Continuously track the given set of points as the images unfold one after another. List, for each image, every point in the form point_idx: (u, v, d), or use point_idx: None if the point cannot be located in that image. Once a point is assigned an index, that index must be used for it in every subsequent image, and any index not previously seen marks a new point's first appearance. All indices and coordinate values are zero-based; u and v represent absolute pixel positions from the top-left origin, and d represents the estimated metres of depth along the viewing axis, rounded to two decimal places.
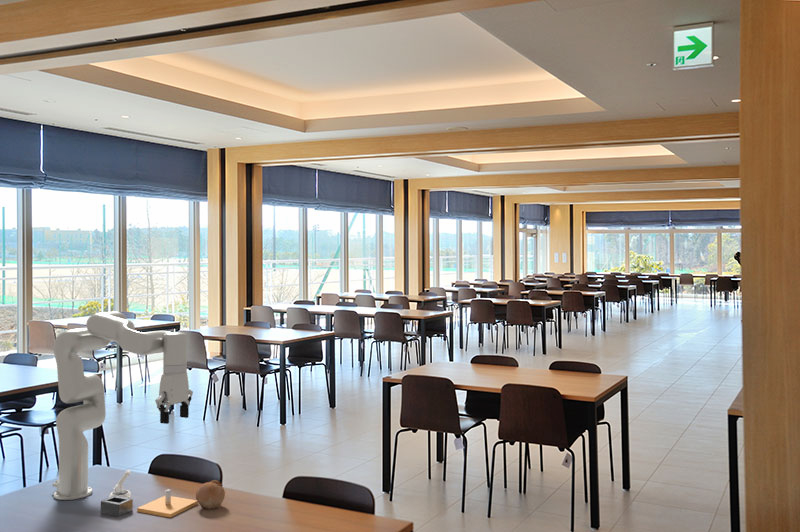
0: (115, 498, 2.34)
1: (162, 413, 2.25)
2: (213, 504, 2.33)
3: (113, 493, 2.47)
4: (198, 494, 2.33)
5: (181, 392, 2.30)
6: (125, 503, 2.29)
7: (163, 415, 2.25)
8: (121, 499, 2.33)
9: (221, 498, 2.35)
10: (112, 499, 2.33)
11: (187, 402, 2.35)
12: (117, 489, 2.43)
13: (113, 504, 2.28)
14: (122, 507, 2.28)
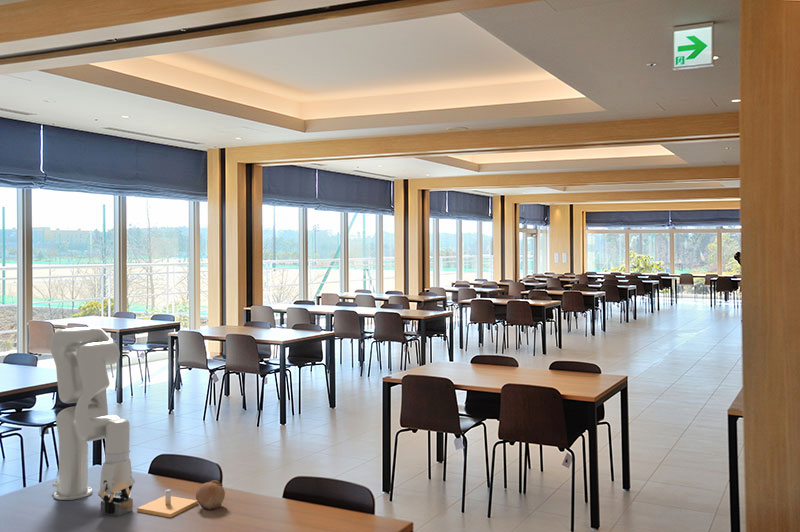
0: (115, 498, 2.34)
1: (106, 503, 2.27)
2: (213, 504, 2.33)
3: None
4: (198, 494, 2.33)
5: (123, 479, 2.31)
6: (125, 503, 2.29)
7: (107, 506, 2.27)
8: (121, 499, 2.33)
9: (221, 498, 2.35)
10: None
11: (127, 492, 2.34)
12: None
13: (113, 504, 2.28)
14: (122, 507, 2.28)
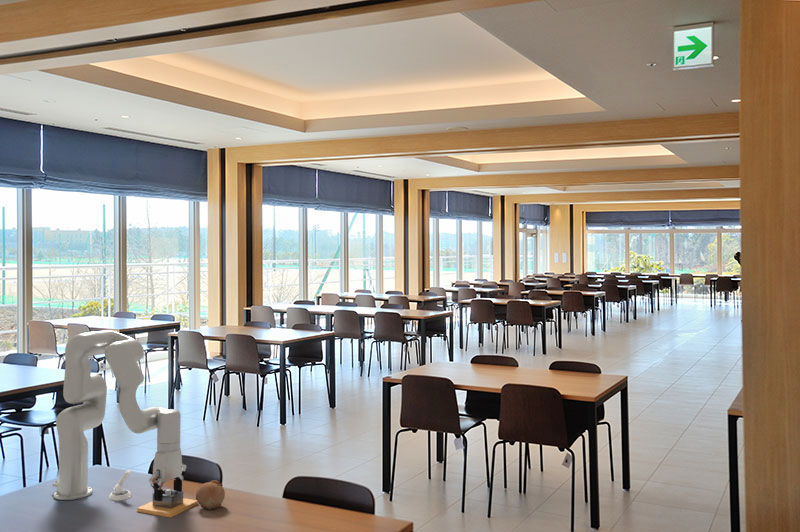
0: None
1: (156, 491, 2.30)
2: (213, 504, 2.33)
3: (113, 493, 2.47)
4: (198, 494, 2.33)
5: (174, 469, 2.35)
6: (177, 495, 2.34)
7: (157, 493, 2.30)
8: (172, 492, 2.37)
9: (221, 498, 2.35)
10: (163, 492, 2.38)
11: (180, 477, 2.40)
12: (117, 489, 2.43)
13: (165, 496, 2.32)
14: (174, 500, 2.33)
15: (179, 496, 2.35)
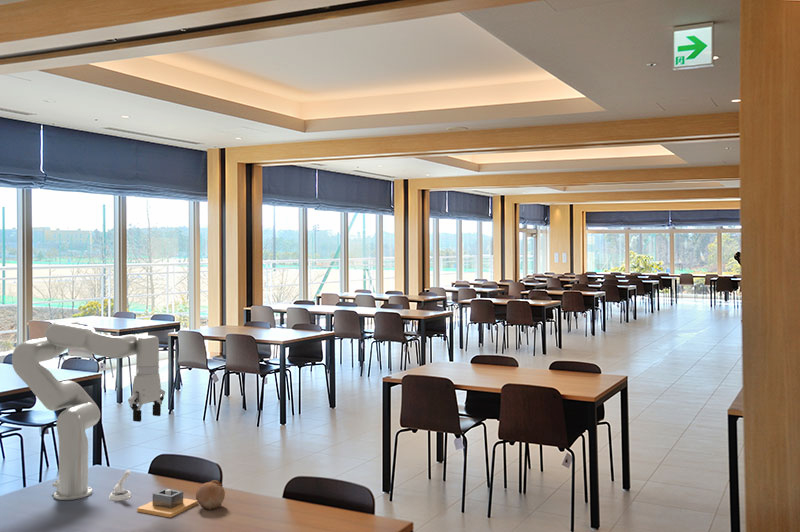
0: None
1: (135, 412, 2.40)
2: (213, 504, 2.33)
3: (113, 493, 2.47)
4: (198, 494, 2.33)
5: (153, 392, 2.45)
6: (177, 495, 2.34)
7: (135, 413, 2.40)
8: (172, 492, 2.37)
9: (221, 498, 2.35)
10: (163, 492, 2.38)
11: (159, 401, 2.49)
12: (117, 489, 2.43)
13: (165, 496, 2.32)
14: (174, 500, 2.33)
15: (179, 496, 2.35)
